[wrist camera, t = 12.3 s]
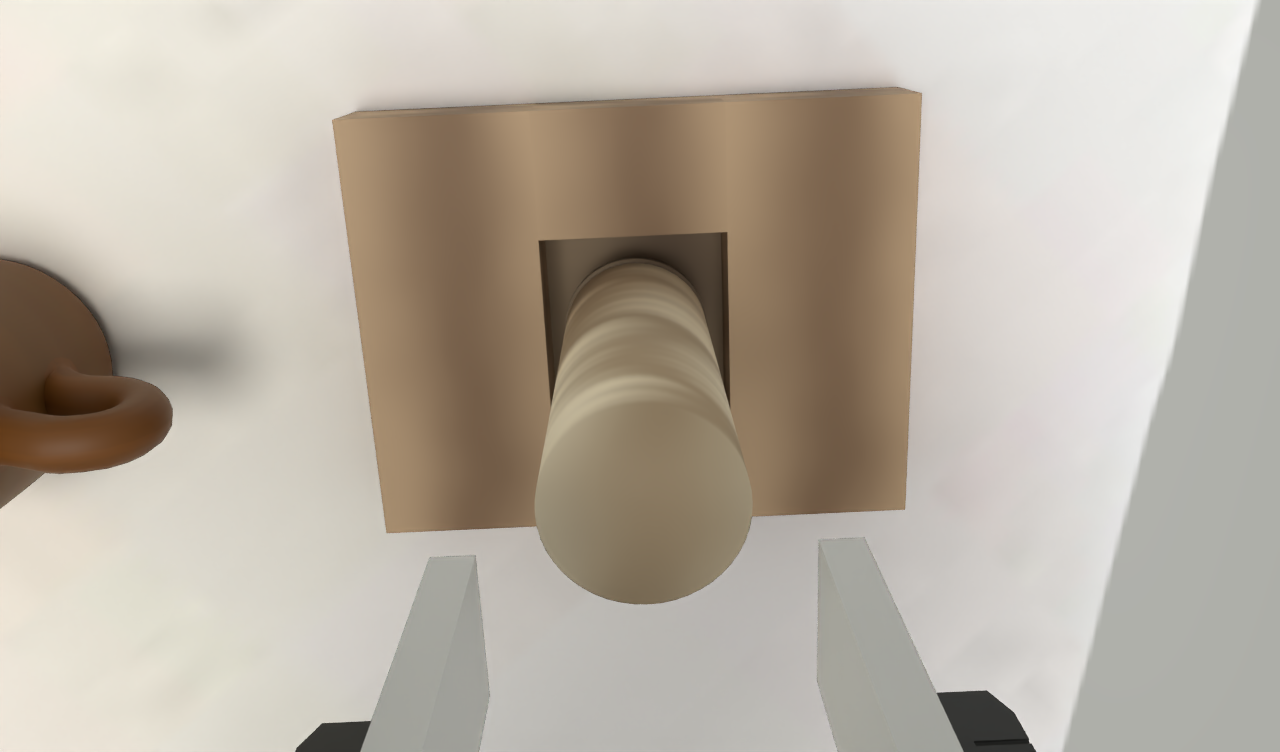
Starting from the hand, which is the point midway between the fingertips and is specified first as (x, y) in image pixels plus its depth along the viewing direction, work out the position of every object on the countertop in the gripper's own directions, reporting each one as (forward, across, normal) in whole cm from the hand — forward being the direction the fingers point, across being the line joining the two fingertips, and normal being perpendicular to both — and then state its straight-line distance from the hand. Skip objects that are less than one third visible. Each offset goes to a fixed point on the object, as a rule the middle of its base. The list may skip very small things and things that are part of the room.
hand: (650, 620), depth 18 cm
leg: (+20, 0, 0) cm, 20 cm away
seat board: (+21, 0, 0) cm, 21 cm away
